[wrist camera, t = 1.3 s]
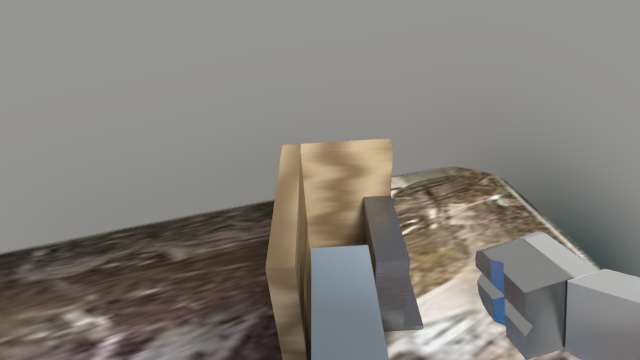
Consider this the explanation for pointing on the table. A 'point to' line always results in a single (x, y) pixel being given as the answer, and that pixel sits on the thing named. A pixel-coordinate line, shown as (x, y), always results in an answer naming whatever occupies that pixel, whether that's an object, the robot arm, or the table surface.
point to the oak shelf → (317, 222)
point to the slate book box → (345, 306)
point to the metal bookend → (390, 265)
